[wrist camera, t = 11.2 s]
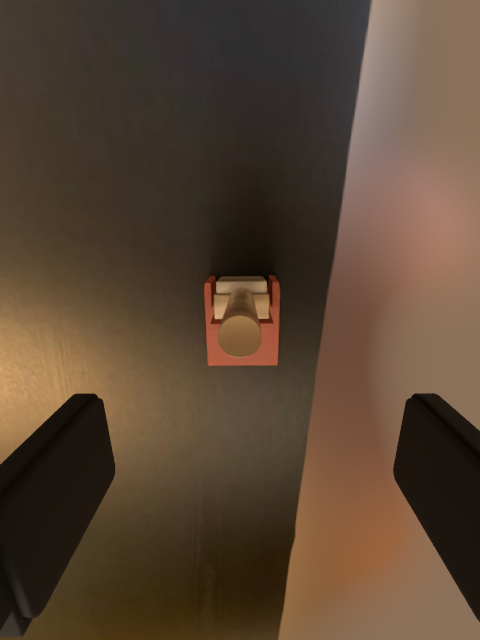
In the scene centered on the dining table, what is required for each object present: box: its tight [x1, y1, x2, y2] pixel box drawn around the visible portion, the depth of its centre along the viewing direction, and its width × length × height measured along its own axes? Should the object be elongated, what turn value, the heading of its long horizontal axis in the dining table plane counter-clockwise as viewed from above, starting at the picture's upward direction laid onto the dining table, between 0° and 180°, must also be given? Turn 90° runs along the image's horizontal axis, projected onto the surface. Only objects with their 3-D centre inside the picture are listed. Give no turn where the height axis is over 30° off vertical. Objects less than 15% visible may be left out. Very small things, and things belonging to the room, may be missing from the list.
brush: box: [214, 276, 269, 358], centre depth 20 cm, size 15×4×3 cm
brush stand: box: [204, 275, 280, 366], centre depth 28 cm, size 10×8×7 cm
